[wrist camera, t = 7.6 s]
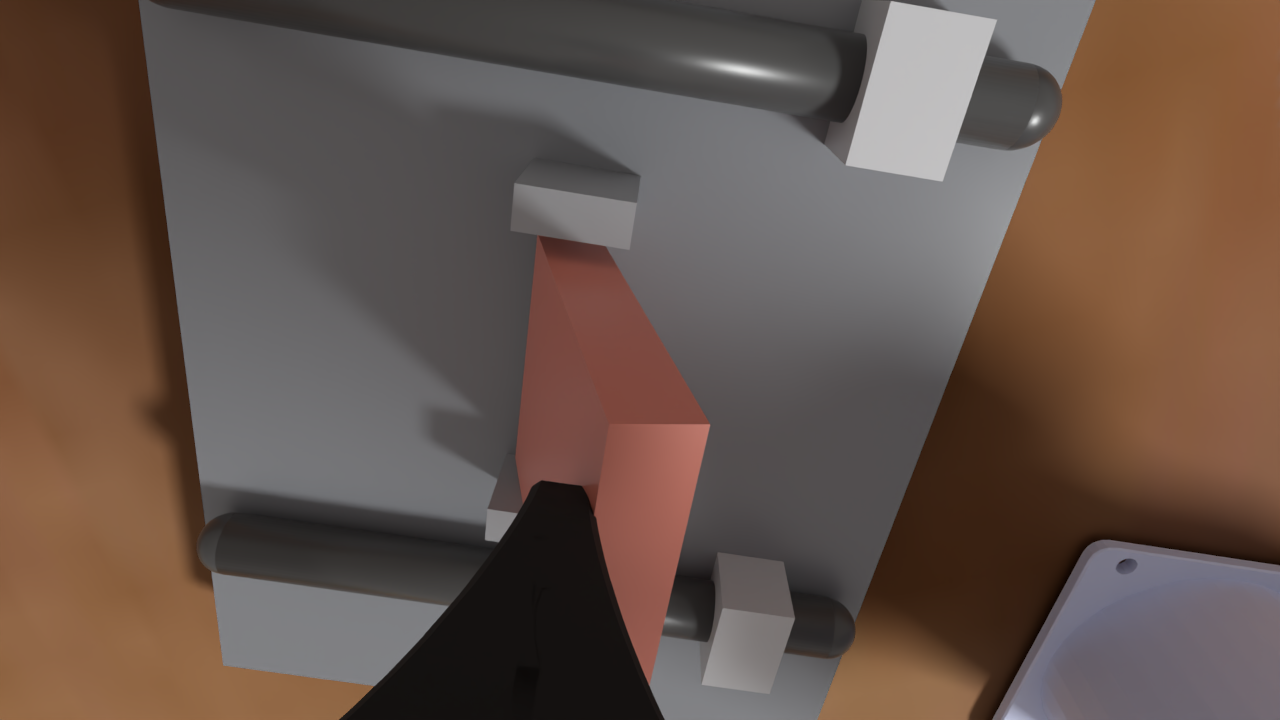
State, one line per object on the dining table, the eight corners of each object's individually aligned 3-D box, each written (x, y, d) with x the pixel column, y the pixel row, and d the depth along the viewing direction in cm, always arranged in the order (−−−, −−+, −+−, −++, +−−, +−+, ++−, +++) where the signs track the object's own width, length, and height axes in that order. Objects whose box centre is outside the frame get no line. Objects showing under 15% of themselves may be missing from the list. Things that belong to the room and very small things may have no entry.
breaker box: (1114, -207, 13) (1290, -284, 9) (796, 684, 23) (821, 815, 19) (166, -389, 12) (-42, -547, 9) (259, 610, 22) (179, 731, 18)
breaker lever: (600, 238, 14) (710, 423, 9) (570, 457, 16) (642, 717, 11) (537, 233, 14) (608, 424, 8) (515, 457, 16) (559, 726, 10)
